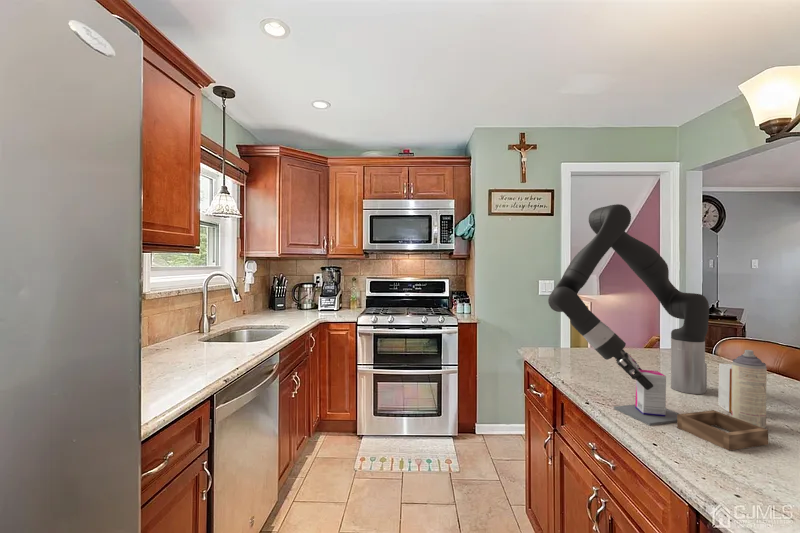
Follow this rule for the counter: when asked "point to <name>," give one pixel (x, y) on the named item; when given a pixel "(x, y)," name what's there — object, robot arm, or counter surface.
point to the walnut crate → (736, 439)
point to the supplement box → (652, 394)
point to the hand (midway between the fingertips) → (648, 383)
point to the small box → (725, 387)
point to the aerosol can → (749, 389)
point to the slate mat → (648, 419)
